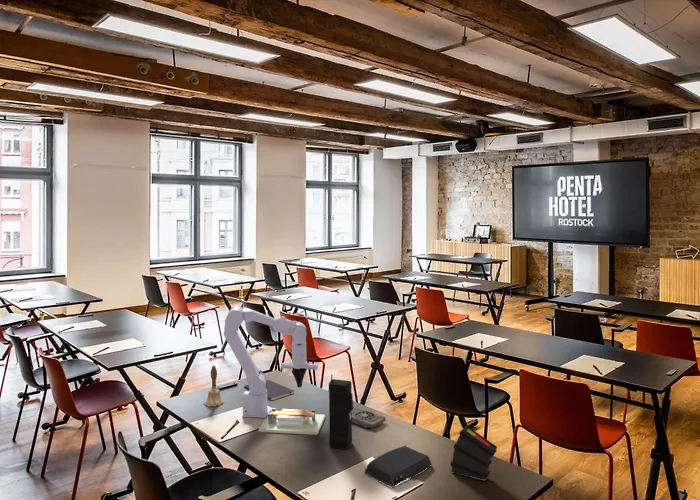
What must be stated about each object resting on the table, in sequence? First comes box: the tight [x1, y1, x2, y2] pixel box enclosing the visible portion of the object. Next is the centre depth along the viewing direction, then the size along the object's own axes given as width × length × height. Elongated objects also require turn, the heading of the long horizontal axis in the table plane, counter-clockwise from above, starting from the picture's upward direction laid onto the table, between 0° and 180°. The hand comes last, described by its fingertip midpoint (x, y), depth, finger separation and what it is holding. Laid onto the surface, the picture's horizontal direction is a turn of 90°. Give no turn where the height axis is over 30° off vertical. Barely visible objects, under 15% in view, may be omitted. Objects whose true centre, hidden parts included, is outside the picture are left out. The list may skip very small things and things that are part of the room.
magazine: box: [450, 425, 498, 479], centre depth 162 cm, size 4×13×15 cm, turn 59°
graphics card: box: [352, 404, 386, 429], centre depth 203 cm, size 17×4×12 cm
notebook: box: [243, 379, 295, 401], centre depth 237 cm, size 13×2×21 cm
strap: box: [270, 409, 314, 417], centre depth 201 cm, size 17×3×1 cm, turn 83°
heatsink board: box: [258, 407, 326, 436], centre depth 201 cm, size 22×16×5 cm
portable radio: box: [328, 374, 354, 450], centre depth 183 cm, size 8×6×25 cm
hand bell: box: [203, 365, 225, 407], centre depth 222 cm, size 8×8×16 cm
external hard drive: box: [363, 445, 432, 488], centre depth 167 cm, size 13×19×4 cm
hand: (299, 386), depth 212 cm, fingers closed
